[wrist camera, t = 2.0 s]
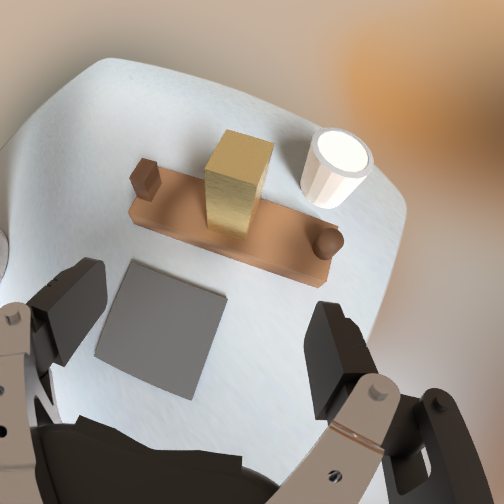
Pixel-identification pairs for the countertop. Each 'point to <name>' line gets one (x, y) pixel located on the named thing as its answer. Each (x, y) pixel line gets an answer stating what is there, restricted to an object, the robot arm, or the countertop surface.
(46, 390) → the robot arm
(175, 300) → the mat
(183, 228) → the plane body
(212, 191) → the pale wooden block
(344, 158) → the white cup
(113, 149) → the countertop surface
